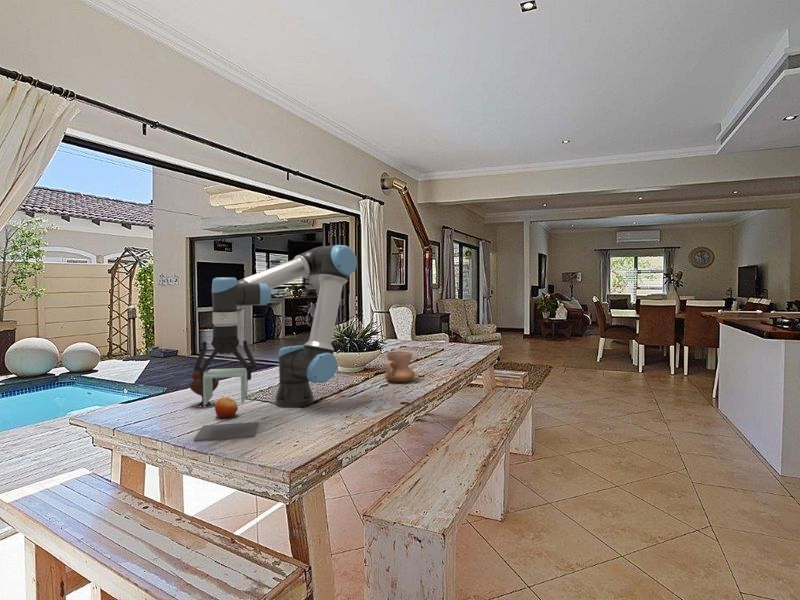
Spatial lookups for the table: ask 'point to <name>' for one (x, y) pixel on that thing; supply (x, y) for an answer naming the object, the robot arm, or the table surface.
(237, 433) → the mat
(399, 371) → the ceramic jug
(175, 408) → the table surface
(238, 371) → the cover
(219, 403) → the fruit
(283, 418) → the table surface
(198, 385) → the ice cream bowl
